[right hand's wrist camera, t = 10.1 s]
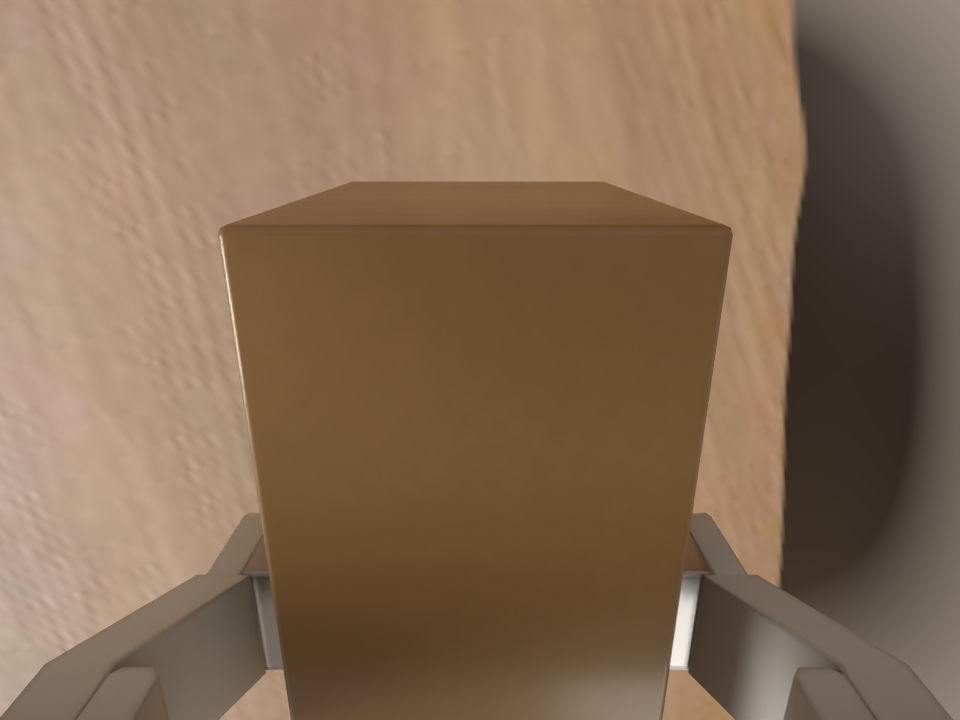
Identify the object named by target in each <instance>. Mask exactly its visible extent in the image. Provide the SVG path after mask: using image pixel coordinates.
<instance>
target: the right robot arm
mask: <svg viewBox="0 0 960 720" xmlns="http://www.w3.org/2000/svg"><path fill="white" fill-rule="evenodd" d="M277 669H284V668H283V662H282V655H281V648H280V642H279V635H278V628H277V622H276V615H275V608H274V602H273V595H272V588H271V582H270V575H269V569H268V562H267V555H266V549H265V542H264V535H263V529H262V522H261V515H260V513H250V514H247V515H245V516H244V517H243V518H242V519H241V521H240V522H239V524H238V526H237V527H236V529H235V530H234V532H233V533H232V535H231V537H230V538H229V540H228V541H227V543H226V544H225V546H224V548H223V549H222V551H221V552H220V554H219V555H218V557H217V559H216V560H215V562H214V563H213V565H212V566H211V568H210V570H209V571H208V573H207V574H206V575H196V576H194V577H193V578H191V579H189V580H188V581H186V582H184V583H182V584H181V585H179V586H177V587H176V588H174V589H172V590H171V591H169V592H167V593H165V594H164V595H162V596H160V597H159V598H157V599H155V600H154V601H152V602H150V603H148V604H147V605H145V606H143V607H142V608H140V609H138V610H137V611H135V612H133V613H131V614H130V615H128V616H126V617H125V618H123V619H121V620H119V621H118V622H116V623H114V624H113V625H111V626H109V627H108V628H106V629H104V630H102V631H101V632H99V633H97V634H96V635H94V636H92V637H91V638H89V639H87V640H85V641H84V642H82V643H80V644H79V645H77V646H75V647H74V648H72V649H70V650H68V651H67V652H65V653H63V654H62V655H60V656H58V657H57V658H55V659H53V660H51V661H50V662H48V663H46V664H45V665H44V666H43V667H42V668H41V670H40V671H39V672H38V673H37V674H36V676H35V677H34V678H33V679H32V680H31V682H30V683H29V684H28V685H27V686H26V688H25V689H24V690H23V691H22V692H21V694H20V695H19V696H18V697H17V698H16V700H15V701H14V702H13V703H12V704H11V706H10V707H9V708H8V709H7V710H6V711H5V713H4V714H3V715H2V716H1V717H0V720H219V719H220V718H221V717H222V716H223V715H224V714H225V713H226V712H227V711H228V710H229V709H230V708H231V707H232V706H233V705H234V704H235V703H236V702H237V701H238V700H239V699H240V698H241V697H242V696H243V695H244V694H245V693H246V692H247V691H248V690H249V689H250V688H251V687H252V686H253V685H254V684H255V683H256V682H257V681H258V680H259V679H260V678H261V677H262V676H263V675H264V674H265V673H266V671H265V670H277ZM669 669H677V670H689V672H688V673H689V674H690V675H691V676H692V677H693V678H694V679H695V680H696V681H697V682H698V683H699V684H700V685H701V686H702V687H703V688H704V689H705V690H706V691H707V692H708V693H709V694H710V695H711V696H712V697H713V698H714V699H715V700H716V701H717V702H718V703H719V704H720V705H721V706H722V707H723V708H724V709H725V710H726V711H727V712H728V713H729V714H730V715H731V716H732V717H733V718H734V719H735V720H953V719H952V718H951V717H950V715H949V714H948V713H947V712H946V710H945V709H944V708H943V707H942V706H941V704H940V703H939V702H938V701H937V699H936V698H935V697H934V696H933V694H932V693H931V692H930V691H929V690H928V688H927V687H926V686H925V685H924V684H923V682H922V681H921V680H920V679H919V677H918V676H917V675H916V674H915V672H914V671H913V670H912V669H911V668H910V666H909V665H907V664H906V663H904V662H902V661H901V660H899V659H897V658H896V657H894V656H892V655H891V654H889V653H887V652H885V651H884V650H882V649H880V648H879V647H877V646H875V645H874V644H872V643H870V642H869V641H867V640H865V639H864V638H862V637H860V636H859V635H857V634H855V633H854V632H852V631H850V630H848V629H847V628H845V627H843V626H842V625H840V624H838V623H837V622H835V621H833V620H832V619H830V618H828V617H827V616H825V615H823V614H822V613H820V612H818V611H817V610H815V609H813V608H812V607H810V606H808V605H806V604H805V603H803V602H801V601H800V600H798V599H796V598H795V597H793V596H791V595H790V594H788V593H786V592H785V591H783V590H781V589H780V588H778V587H776V586H775V585H773V584H771V583H770V582H768V581H766V580H765V579H763V578H761V577H759V576H758V575H748V574H747V573H746V571H745V570H744V568H743V566H742V565H741V563H740V562H739V560H738V559H737V557H736V555H735V554H734V552H733V551H732V549H731V547H730V546H729V544H728V543H727V541H726V540H725V538H724V536H723V535H722V533H721V532H720V530H719V528H718V527H717V525H716V524H715V522H714V521H713V519H712V517H711V516H710V515H708V514H707V513H692V517H691V524H690V531H689V538H688V545H687V552H686V559H685V565H684V572H683V579H682V586H681V593H680V600H679V607H678V613H677V620H676V627H675V634H674V641H673V648H672V655H671V662H670V668H669Z"/></svg>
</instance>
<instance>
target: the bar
mask: <svg viewBox="0 0 960 720" xmlns="http://www.w3.org/2000/svg"><path fill="white" fill-rule="evenodd" d="M732 236H733V235H732V231H731V228H730V227H728V226H725V225H723V224H720V223H717V222H715V221H712V220H709V219H706V218H703V217H700V216H698V215H695V214H692V213H689V212H686V211H684V210H681V209H678V208H675V207H672V206H670V205H667V204H664V203H661V202H658V201H656V200H653V199H650V198H647V197H644V196H642V195H639V194H636V193H633V192H630V191H628V190H625V189H622V188H619V187H616V186H614V185H611V184H608V183H605V182H350V183H347V184H344V185H342V186H339V187H336V188H333V189H330V190H327V191H324V192H321V193H318V194H315V195H312V196H309V197H307V198H304V199H301V200H298V201H295V202H292V203H289V204H286V205H283V206H280V207H277V208H274V209H271V210H269V211H266V212H263V213H260V214H257V215H254V216H251V217H248V218H245V219H242V220H239V221H236V222H234V223H231V224H228V225H225V226H223V227H221V228H220V230H219V243H220V249H221V256H222V263H223V269H224V276H225V283H226V289H227V296H228V302H229V309H230V316H231V322H232V329H233V336H234V342H235V349H236V356H237V362H238V369H239V376H240V382H241V389H242V396H243V402H244V409H245V416H246V422H247V429H248V436H249V442H250V449H251V455H252V462H253V469H254V475H255V482H256V489H257V495H258V502H259V509H260V515H261V522H262V529H263V535H264V542H265V549H266V555H267V562H268V569H269V575H270V582H271V588H272V595H273V602H274V608H275V615H276V622H277V628H278V635H279V642H280V648H281V655H282V662H283V668H284V675H285V682H286V688H287V695H288V702H289V708H290V715H291V720H662V717H663V710H664V703H665V696H666V689H667V682H668V675H669V668H670V662H671V655H672V648H673V641H674V634H675V627H676V620H677V613H678V607H679V600H680V593H681V586H682V579H683V572H684V565H685V559H686V552H687V545H688V538H689V531H690V524H691V517H692V510H693V504H694V497H695V490H696V483H697V476H698V469H699V462H700V455H701V449H702V442H703V435H704V428H705V421H706V414H707V407H708V401H709V394H710V387H711V380H712V373H713V366H714V359H715V352H716V346H717V339H718V332H719V325H720V318H721V311H722V304H723V297H724V291H725V284H726V277H727V270H728V263H729V256H730V249H731V243H732Z"/></svg>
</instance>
